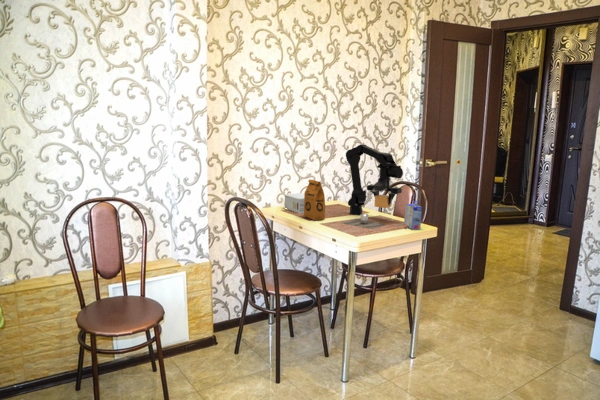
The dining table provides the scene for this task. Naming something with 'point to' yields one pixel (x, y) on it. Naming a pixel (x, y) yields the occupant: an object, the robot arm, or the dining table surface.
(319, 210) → the coffee package
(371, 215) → the dining table surface
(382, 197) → the tan orange cube
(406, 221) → the ink cartridge box
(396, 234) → the dining table surface
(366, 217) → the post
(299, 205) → the supplement box
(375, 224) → the board
